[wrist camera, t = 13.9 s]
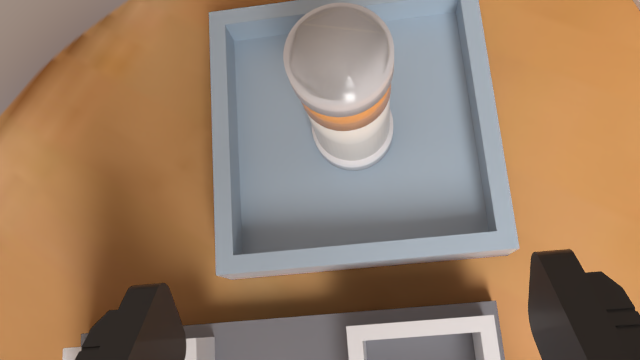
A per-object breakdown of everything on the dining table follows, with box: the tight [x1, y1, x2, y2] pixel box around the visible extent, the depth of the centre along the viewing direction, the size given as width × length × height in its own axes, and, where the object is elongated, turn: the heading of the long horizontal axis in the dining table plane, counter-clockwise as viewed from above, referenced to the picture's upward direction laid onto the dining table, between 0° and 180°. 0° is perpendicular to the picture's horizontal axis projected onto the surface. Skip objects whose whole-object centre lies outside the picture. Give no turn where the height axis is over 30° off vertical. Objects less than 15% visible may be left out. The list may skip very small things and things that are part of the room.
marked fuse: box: [283, 3, 394, 171], centre depth 23 cm, size 4×4×8 cm
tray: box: [209, 0, 519, 280], centre depth 27 cm, size 13×13×2 cm
